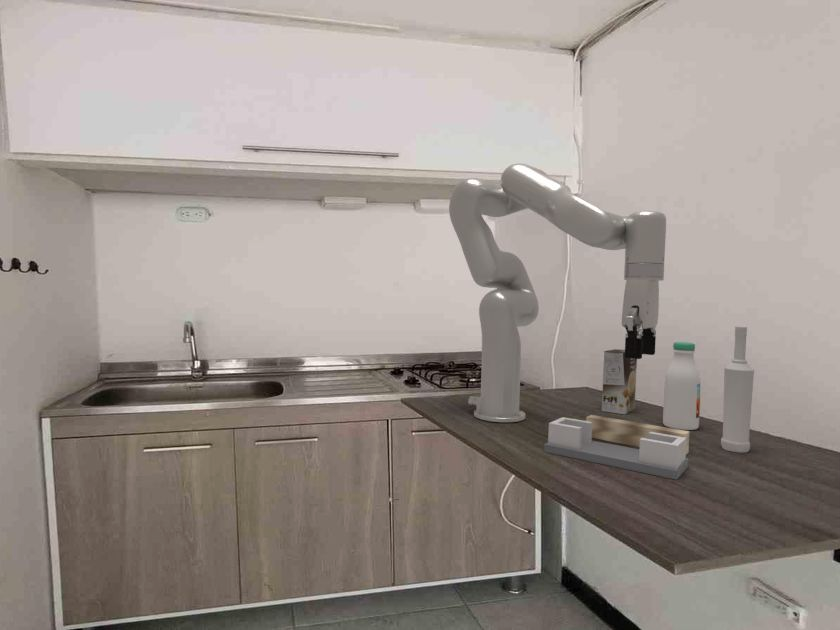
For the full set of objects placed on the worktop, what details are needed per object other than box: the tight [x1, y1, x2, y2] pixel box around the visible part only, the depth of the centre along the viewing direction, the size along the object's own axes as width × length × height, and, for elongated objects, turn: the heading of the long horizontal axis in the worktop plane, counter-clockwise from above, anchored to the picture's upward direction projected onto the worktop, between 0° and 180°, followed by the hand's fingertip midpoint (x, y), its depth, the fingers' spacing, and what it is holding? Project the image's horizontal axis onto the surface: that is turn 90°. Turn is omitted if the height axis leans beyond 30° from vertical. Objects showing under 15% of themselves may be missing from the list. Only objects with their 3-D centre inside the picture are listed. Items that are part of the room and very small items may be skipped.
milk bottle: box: [662, 341, 701, 431], centre depth 129 cm, size 8×8×20 cm
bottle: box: [720, 326, 755, 454], centre depth 111 cm, size 5×5×25 cm
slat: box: [585, 414, 690, 455], centre depth 113 cm, size 20×3×4 cm, turn 50°
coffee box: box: [601, 348, 638, 415], centre depth 146 cm, size 9×6×16 cm
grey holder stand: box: [543, 416, 690, 481], centre depth 103 cm, size 24×9×6 cm, turn 53°
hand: (640, 356), depth 113 cm, fingers open, 9 cm apart
